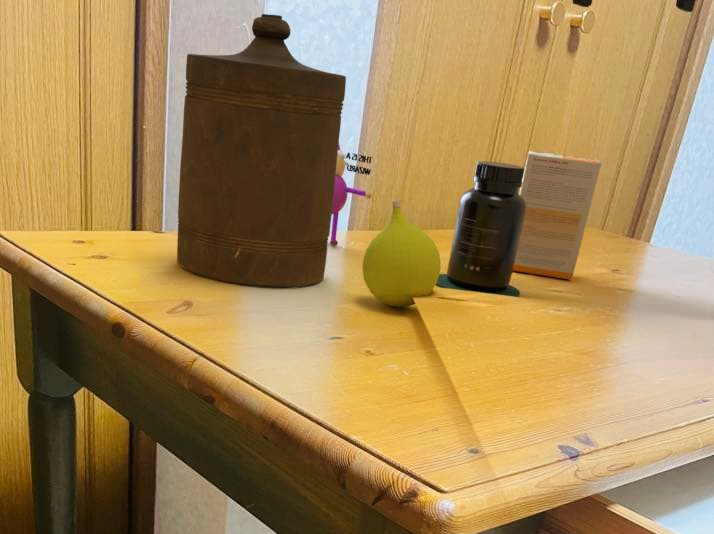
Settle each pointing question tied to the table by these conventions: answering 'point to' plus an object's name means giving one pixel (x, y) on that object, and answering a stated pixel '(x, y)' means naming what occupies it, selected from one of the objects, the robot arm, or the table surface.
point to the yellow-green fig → (401, 262)
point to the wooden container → (258, 163)
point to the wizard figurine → (344, 188)
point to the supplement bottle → (488, 229)
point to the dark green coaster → (445, 283)
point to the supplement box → (554, 212)
